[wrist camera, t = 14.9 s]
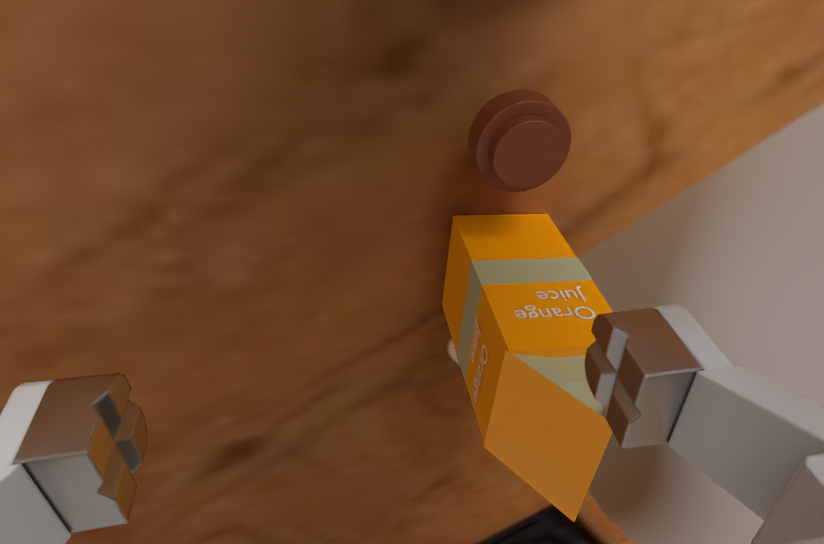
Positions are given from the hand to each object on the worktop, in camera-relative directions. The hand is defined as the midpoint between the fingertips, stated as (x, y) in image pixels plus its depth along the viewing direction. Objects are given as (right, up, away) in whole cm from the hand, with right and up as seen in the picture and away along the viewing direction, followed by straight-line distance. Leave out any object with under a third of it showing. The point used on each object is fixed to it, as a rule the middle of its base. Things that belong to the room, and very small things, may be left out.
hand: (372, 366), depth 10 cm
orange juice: (+7, +3, +36) cm, 37 cm away
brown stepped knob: (+7, +12, +29) cm, 32 cm away
